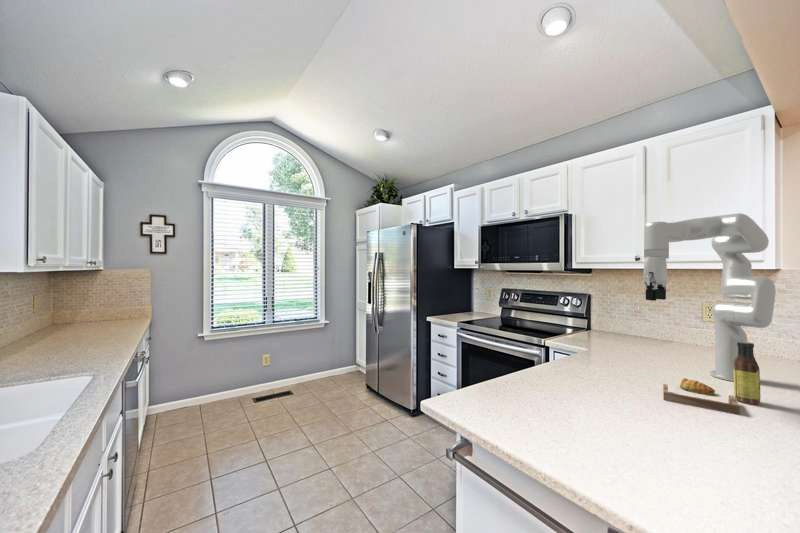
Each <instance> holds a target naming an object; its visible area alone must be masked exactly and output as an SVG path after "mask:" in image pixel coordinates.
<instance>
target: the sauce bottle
mask: <svg viewBox="0 0 800 533" xmlns="http://www.w3.org/2000/svg"><path fill="white" fill-rule="evenodd" d="M737 346H738V356H737V357H736V358H735V360H734V369H733V372H734V381H733V396H734V397H735V399H736V401H737V402H740V403H744V404H747V405H759V404H760V403H761V375H760V374H761V373H760V370H761V369H760V366H759V364H758V362H757V360H756V358H755V355H754V348H755V344H754V343H753V342H749V341H747V342H737Z"/></svg>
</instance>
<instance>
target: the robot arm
mask: <svg viewBox="0 0 800 533" xmlns="http://www.w3.org/2000/svg"><path fill="white" fill-rule="evenodd" d="M643 227H644V229H643V230H644V231H643V232H644V233H643V237H644V238H643V239H644V240H643V259H644V264H643V276H642V283H643V284H644V285H645V288H644V289H645V300H646V301H653V302H655V301H657V300H664V301H665V300H666V299H667V280H668V265H667V264H668V263H667V259H668V260H669V259H670V250H669V249H670V243H679V242H684V241H696V240H697V241H700V240H704V239H706V240H707V239H711V247H712V249H713V250H714V252H715V253H716V254H717V255H718V257H719V258H720V260H721V261H722V272H721V281H720V290H719V291H720V293H721V295H722V296H723V297H724V298H729V299H736V300H737V299H738V300H750V301H752V302H742V301H730V300H727V301H726V300H723V301H718V302H716V303H715V304H714V305H713V306H712V308H711V314H712V319H713V322H714V342H715V343H714V349H715V350H714V370H710V371H709V375H710V376H712V377H714V378H717V379H721V380H723V381H724V380H725V381H729V382H730V381H731V382H734V372H733V369H734V360H735V358H736V357H737V356H738V346H737V342H748V335H747V334H746V331H745V330H744V329H743V327H748V328H757V329H764V328H765V329H766V328H767V327H769V326H770V325H771V323H772V320H773V315H774V309H775V302H776V291H777V290H776V285H775V282H774V281H773V280H772V279H770V278H769V277H767V276H761V275H752V263H751V261H750V260H749V259H748V257H747V256H745V255H744V254H751V253H752V254H753V253H754V254H755V253H761V252H763V251H765V250H766V249H767V248H768V247H769V241H770V240H769V237H768V235H767V234H766V233H765V231H764V230H763V229H762V228H761V227H760V225H758V224H757V223H756V221H754V219H753V218H751V217H750V216H749V215H746V214H744V213H732V214H724V215H723V214H722V215H715V216H706V217H698V218H697V217H696V218H691V219H684V220H680V221H675V222H674V221H672V222H667V221H651V222H650V221H649V222H647V223H645V225H644V226H643Z"/></svg>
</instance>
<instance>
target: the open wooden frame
mask: <svg viewBox="0 0 800 533" xmlns="http://www.w3.org/2000/svg"><path fill="white" fill-rule="evenodd" d="M662 386H663V387H662V388H663V390H662V391H663V395H662V396H663V397H662V398H663V401H667V402H672V403H678V404H682V405H686V406H688V405H689V406H693V407H698V408H703V409H709V410H713V411H719V412H724V413H728V412H729V413H730V414H733V415H741V406H740V405H739V401H738V400H736V399H735V395H732V394H731V395H730V394H729V395H728V402H723V401H716V400H712V399H707V398H701V397H696V396H695V397H694V396H690V395H685V394H680V393H674V392H669V389H668V388H669V387H668V384H666V383H663V385H662ZM729 413H728V414H729Z"/></svg>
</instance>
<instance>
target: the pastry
mask: <svg viewBox="0 0 800 533" xmlns="http://www.w3.org/2000/svg"><path fill="white" fill-rule="evenodd" d="M679 388H680V389H682V390H683V391H688V392H690V393H695V394H700V395H706V396H707V395H709V396H712V395H714V394H715V392H716V389H714V388H713V387H711V386H709V385H707V384H704V383H702V382H700V381H698V380H693V379H688V378H682V379H681V381H680V383H679Z"/></svg>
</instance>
